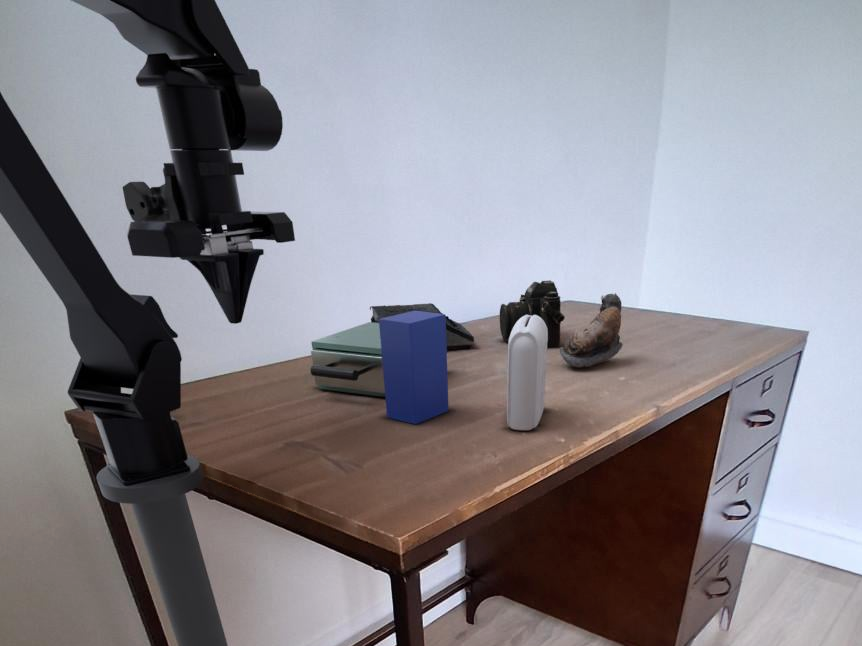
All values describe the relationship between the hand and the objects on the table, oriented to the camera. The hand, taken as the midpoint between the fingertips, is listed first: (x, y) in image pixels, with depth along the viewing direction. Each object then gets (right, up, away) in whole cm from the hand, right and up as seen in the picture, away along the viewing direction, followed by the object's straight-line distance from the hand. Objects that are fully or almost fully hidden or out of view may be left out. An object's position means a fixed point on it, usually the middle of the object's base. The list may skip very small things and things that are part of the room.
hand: (235, 322), depth 75 cm
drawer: (+11, +4, +26) cm, 28 cm away
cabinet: (+12, +5, +29) cm, 32 cm away
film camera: (+37, +21, +52) cm, 67 cm away
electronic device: (+17, +19, +49) cm, 55 cm away
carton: (+19, -5, +15) cm, 25 cm away
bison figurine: (+46, +10, +37) cm, 59 cm away
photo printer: (+33, -7, +13) cm, 36 cm away
